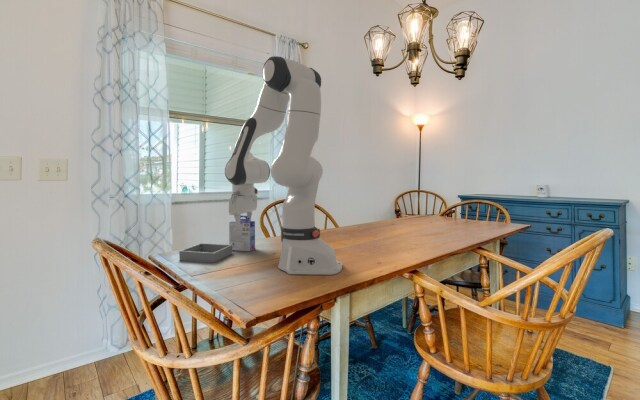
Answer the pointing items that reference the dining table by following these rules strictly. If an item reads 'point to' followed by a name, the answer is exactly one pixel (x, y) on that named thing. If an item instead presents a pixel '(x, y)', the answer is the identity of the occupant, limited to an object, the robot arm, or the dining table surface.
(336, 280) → the dining table surface
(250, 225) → the ink cartridge box
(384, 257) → the dining table surface
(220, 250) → the bin
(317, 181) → the robot arm
